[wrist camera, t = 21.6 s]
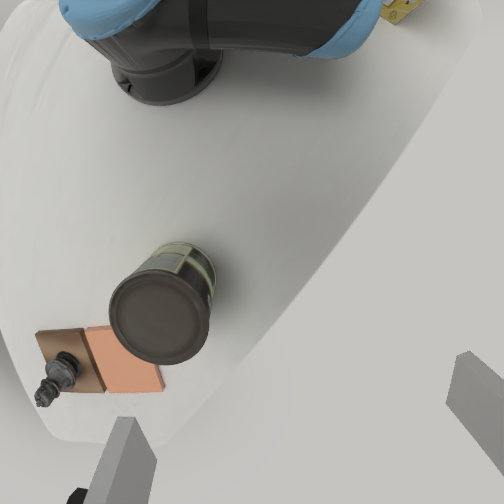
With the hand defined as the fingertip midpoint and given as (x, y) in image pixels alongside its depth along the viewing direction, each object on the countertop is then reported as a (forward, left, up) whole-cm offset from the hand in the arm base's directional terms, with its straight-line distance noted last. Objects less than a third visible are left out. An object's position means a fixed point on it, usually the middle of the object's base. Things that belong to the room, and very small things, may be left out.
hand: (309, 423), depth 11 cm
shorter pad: (+15, -34, -33) cm, 50 cm away
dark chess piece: (+15, -34, -31) cm, 49 cm away
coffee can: (+3, -11, -33) cm, 35 cm away
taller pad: (+15, -23, -33) cm, 43 cm away
